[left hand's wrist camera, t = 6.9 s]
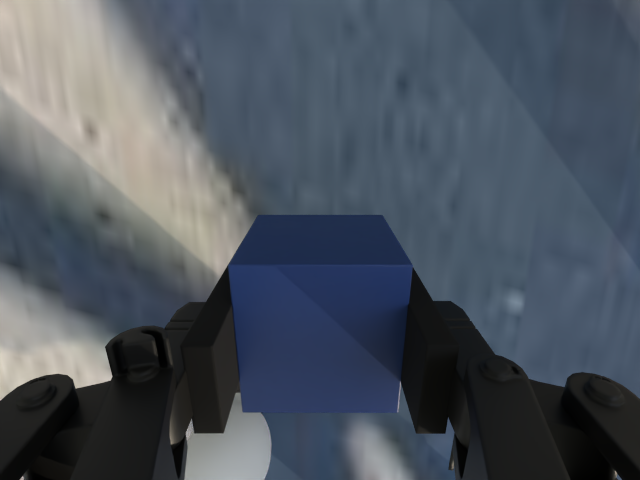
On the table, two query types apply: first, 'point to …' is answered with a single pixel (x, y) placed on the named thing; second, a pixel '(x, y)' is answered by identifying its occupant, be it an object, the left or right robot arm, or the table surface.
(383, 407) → the block
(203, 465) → the light bulb
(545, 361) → the table surface
